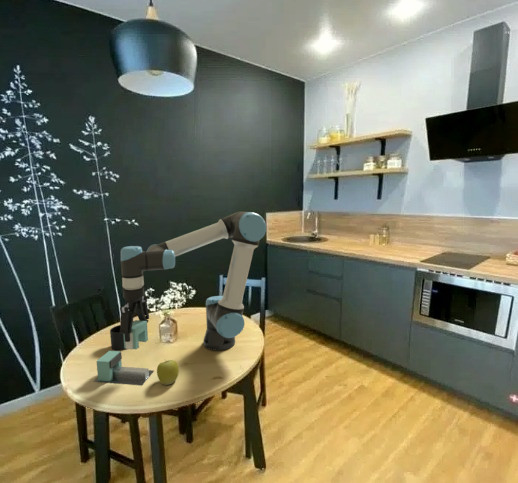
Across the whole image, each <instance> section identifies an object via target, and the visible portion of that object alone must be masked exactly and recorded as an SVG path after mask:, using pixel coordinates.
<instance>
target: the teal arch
mask: <svg viewBox="0 0 518 483" xmlns="http://www.w3.org/2000/svg"><path fill="white" fill-rule="evenodd" d="M131 332H133V349H132V350H137V349H139V348H140V345H139V344H140V342H141V343H146V342H147V341H148V340H149V336H148V334H149V333H148V323H147V321H140V320H139V319H135V320H133V323H132V329H131ZM123 335H124V334H123ZM124 348H126V343H125V335H124Z"/></svg>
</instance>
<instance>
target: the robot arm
mask: <svg viewBox="0 0 518 483" xmlns="http://www.w3.org/2000/svg"><path fill="white" fill-rule="evenodd" d="M266 231H267V224H266V221H265V219H264V218H263V217H262V216H261V215H260V214H259V213H256V212H251V211H237V212H234V213H231V214H230V215H227V216H225V217H222V218H220V219H218V222H216V223H212V224H211V225H207V226H204V227H202V228H200V229H197V230H194V231H191V232H188V233H185V234H182V235H179V236H178V237H175V238H172V239H169V240H167V241H163V242H161V243H159V244H151V245H150V246H149V247H148V248H147V250H146V251H145V250H143V248H142V246H141V245H140V246H139V245H135V246H134V245H129V246H124V247H121V249H120V267H121V268H120V269H121V270H120V271H121V280H122V282H121V283H122V298H123V299H124V300H125V305H124V306H120V307H119V310H120V321H119V322H120V323H119V325H120V333H121V334H124V335H125V343H126V350H134V349H133V332H131V329H132V323H133V321H134V318H135V315H137V319H138V320H140V321H147V324H148V323H149V319H150V315H149V307H148V300H147V299H148V298H147V296H145V286H144V285H145V282H144V281H145V279H144V272H148V271H161V270H169V269H170V270H171V269H175V266H176V257H179V256H181V255H183V254H185V253H186V254H187V253H188V252H191V251H193V250H196V249H198V248H201V247H203V246H207V245H208V244H211V243H214V242H216V241H220V240H222V239H226V240H228V239H230V238H232V239H231V242H232V243H233V245H234V246H233V250H232V254H231V259H230V263H229V268H228V272H227V277H226V282H225V284H224V285H225V287H224V290H223V294H222V295H214V296H210V297H208V298H206V300H205V311H206V312H205V313H206V316H205V317H206V318H205V319H206V331H205V334H204V337H203V346H204V348H206V349H207V350H211V351H225V350H228V349H230V348H232V347H233V346H235V344H236V337H237V336H238V335H240V333H242V332H243V330H244V328H245V318H244V316H243V315H244V314H243V313H244V310H245V306H244V304H243V297H244V294H245V291H246V285H247V281H248V276H249V271H250V267H251V263H252V259H253V255H254V250H255V249H256V248H258V247H259V245H260V240H261V239H263V237H264V236H265V234H266Z"/></svg>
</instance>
